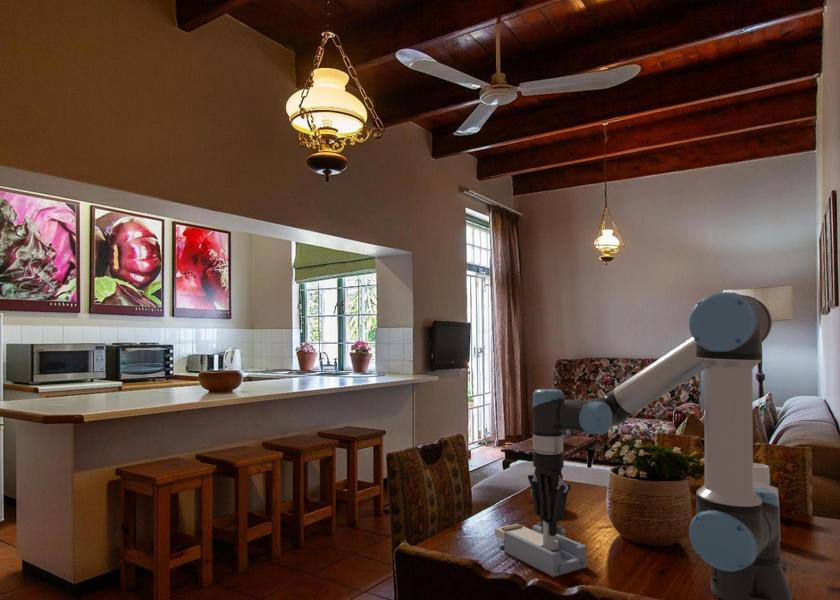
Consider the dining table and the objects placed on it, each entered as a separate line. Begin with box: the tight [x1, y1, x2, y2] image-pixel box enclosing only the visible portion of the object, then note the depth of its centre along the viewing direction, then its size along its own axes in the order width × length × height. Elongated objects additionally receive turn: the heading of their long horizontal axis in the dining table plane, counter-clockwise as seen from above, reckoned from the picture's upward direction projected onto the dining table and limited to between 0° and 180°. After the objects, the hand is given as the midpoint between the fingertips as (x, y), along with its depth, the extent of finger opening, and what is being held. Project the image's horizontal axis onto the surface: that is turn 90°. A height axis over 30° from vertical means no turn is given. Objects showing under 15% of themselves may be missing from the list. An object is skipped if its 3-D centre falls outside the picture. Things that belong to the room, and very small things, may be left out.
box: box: [503, 524, 588, 578], centre depth 144 cm, size 18×11×5 cm, turn 31°
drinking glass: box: [753, 462, 771, 491], centre depth 181 cm, size 7×7×15 cm
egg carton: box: [536, 521, 567, 537], centre depth 157 cm, size 11×8×4 cm
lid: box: [494, 523, 559, 551], centre depth 150 cm, size 16×8×2 cm, turn 31°
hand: (549, 547), depth 142 cm, fingers closed
